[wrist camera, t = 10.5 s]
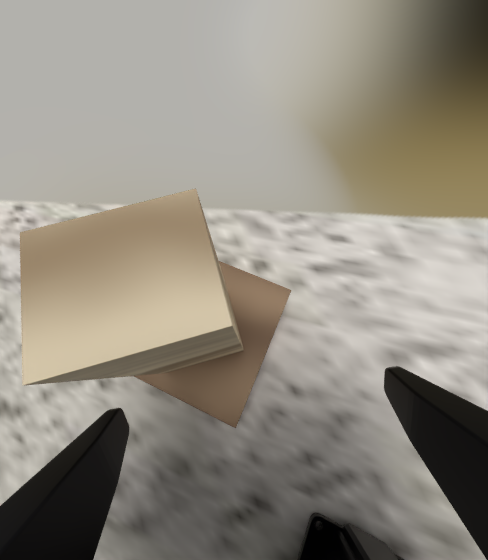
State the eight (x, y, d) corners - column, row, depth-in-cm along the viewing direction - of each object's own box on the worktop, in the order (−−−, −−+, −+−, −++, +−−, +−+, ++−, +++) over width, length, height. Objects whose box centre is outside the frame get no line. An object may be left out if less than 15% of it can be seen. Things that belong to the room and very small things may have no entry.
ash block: (243, 350, 18) (232, 325, 7) (166, 373, 18) (22, 385, 7) (227, 290, 20) (196, 188, 8) (155, 310, 19) (20, 232, 8)
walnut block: (238, 418, 20) (235, 428, 17) (128, 363, 22) (105, 361, 19) (285, 301, 23) (291, 290, 20) (184, 260, 25) (174, 243, 21)
